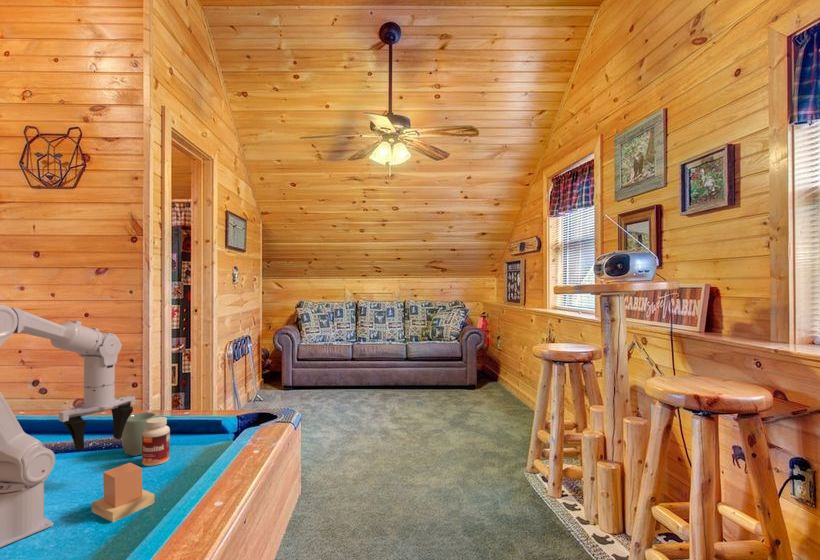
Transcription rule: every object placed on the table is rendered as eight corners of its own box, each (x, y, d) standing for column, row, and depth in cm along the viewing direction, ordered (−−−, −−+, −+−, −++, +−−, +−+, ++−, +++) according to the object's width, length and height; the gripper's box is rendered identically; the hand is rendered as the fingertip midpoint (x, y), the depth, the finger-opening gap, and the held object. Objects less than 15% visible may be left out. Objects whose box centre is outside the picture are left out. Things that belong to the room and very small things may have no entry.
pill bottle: (138, 468, 103) (138, 424, 104) (146, 458, 109) (146, 417, 109) (166, 465, 105) (166, 422, 105) (172, 455, 111) (172, 414, 111)
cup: (114, 456, 110) (114, 419, 110) (141, 445, 118) (141, 411, 118) (136, 460, 108) (136, 422, 108) (162, 449, 116) (162, 413, 116)
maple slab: (112, 525, 80) (112, 512, 80) (91, 514, 84) (91, 502, 84) (154, 505, 87) (154, 494, 87) (133, 496, 91) (133, 485, 91)
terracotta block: (115, 507, 82) (114, 477, 82) (103, 500, 84) (103, 472, 84) (142, 496, 86) (141, 467, 86) (130, 489, 89) (129, 462, 89)
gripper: (69, 394, 86) (69, 459, 86) (142, 380, 99) (142, 436, 99) (54, 390, 89) (54, 452, 89) (126, 376, 102) (126, 431, 102)
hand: (99, 443), depth 94 cm, fingers open, 7 cm apart
